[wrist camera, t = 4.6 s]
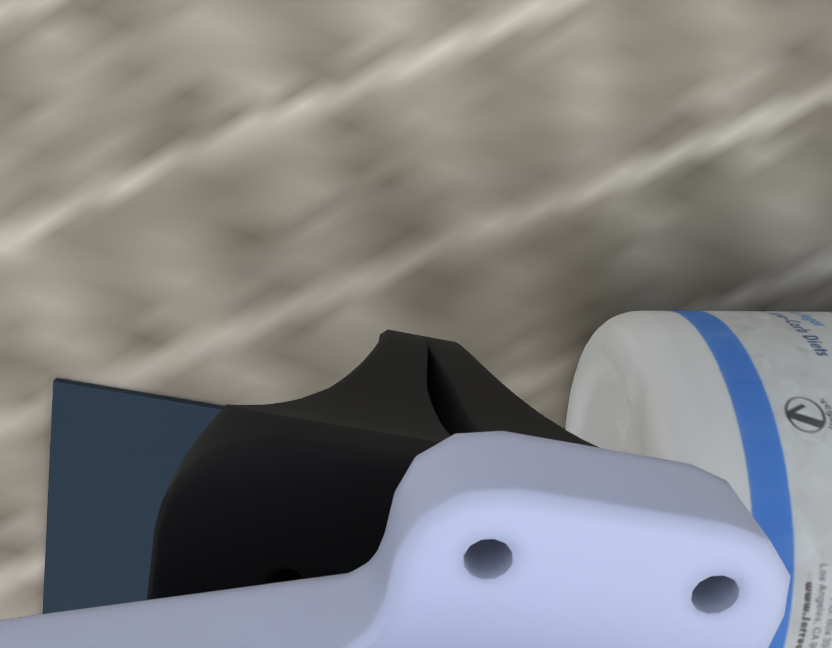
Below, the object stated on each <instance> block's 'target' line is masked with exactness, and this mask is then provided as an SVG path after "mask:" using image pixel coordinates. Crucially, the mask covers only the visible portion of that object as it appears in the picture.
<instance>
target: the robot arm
mask: <svg viewBox="0 0 832 648" xmlns="http://www.w3.org/2000/svg"><path fill="white" fill-rule="evenodd" d="M790 577H791V576H790V574H789V572H788V571H787V569H786V567H785V565H784V564H783V562H782V560H781V558H780V557H779V555H778V553H777V551H776V550H775V548H774V546H773V544H772V543H771V541H770V540H769V538H768V537H767V536H766V534H765V533H764V531H763V530H762V529H761V527H760V526H759V524H758V523H757V522H756V520H755V519H754V517H753V516H752V515H751V513H750V512H749V510H748V509H747V508H746V506H745V505H744V504H743V502H742V501H741V499H740V498H739V497H738V495H737V494H736V492H735V491H734V490H733V488H732V487H731V485H730V484H729V483H728V481H727V480H725V479H722V478H720V477H718V476H716V475H714V474H711V473H709V472H707V471H705V470H703V469H701V468H698V467H696V466H694V465H692V464H690V463H684V462H678V461H672V460H667V459H661V458H655V457H649V456H644V455H638V454H632V453H627V452H621V451H615V450H609V449H604V448H599V447H597V446H595V445H593V444H591V443H589V442H587V441H585V440H583V439H581V438H579V437H578V436H576V435H574V434H572V433H570V432H568V431H567V430H565V429H564V428H562V427H560V426H559V425H557V424H556V423H554V422H552V421H551V420H549V419H548V418H546V417H544V416H543V415H542V414H540V413H539V412H537V411H536V410H534V409H533V408H532V407H530V406H529V405H528V404H527V403H525V402H524V401H523V400H521V399H520V398H519V397H518V396H516V395H515V394H514V393H513V392H511V391H510V390H509V389H508V388H507V387H506V386H504V385H503V384H502V383H501V382H500V381H499V380H498V379H497V378H495V377H494V376H493V375H492V374H491V373H490V372H489V371H488V370H487V369H486V368H485V367H484V366H483V365H482V364H480V363H479V362H478V361H477V360H476V359H475V358H474V357H473V356H472V355H471V354H470V353H469V352H468V351H467V350H465V349H464V348H463V347H462V346H461V345H459V344H458V343H456V342H452V341H447V340H441V339H436V338H430V337H425V336H420V335H414V334H409V333H404V332H398V331H393V330H386V331H385V332H383V333H382V334H380V338H379V342H378V344H377V345H376V346H375V348H374V349H373V351H372V352H371V353H370V354H369V355H368V356H367V357H366V359H365V360H364V361H363V362H362V363H361V364H360V365H359V366H358V367H357V368H355V369H354V370H353V371H352V372H351V373H350V374H348V375H347V376H346V377H345V378H343V379H342V380H341V381H339V382H338V383H336V384H335V385H333V386H332V387H330V388H328V389H326V390H323V391H320V392H318V393H315V394H312V395H309V396H307V397H304V398H301V399H297V400H292V401H288V402H282V403H275V404H267V405H226V406H225V407H223V408H222V409H221V411H220V412H219V413H218V414H217V415H216V416H215V417H214V419H213V420H212V421H211V422H210V423H209V424H208V426H207V427H206V428H205V429H204V430H203V432H202V433H201V434H200V436H199V437H198V438H197V440H196V441H195V442H194V444H193V445H192V446H191V448H190V449H189V451H188V452H187V454H186V455H185V457H184V458H183V460H182V461H181V463H180V465H179V467H178V468H177V470H176V472H175V474H174V476H173V478H172V480H171V482H170V485H169V487H168V489H167V491H166V493H165V495H164V498H163V500H162V502H161V506H160V510H159V513H158V517H157V520H156V524H155V528H154V537H153V546H152V555H151V564H150V573H149V582H148V591H147V600H144V601H137V602H129V603H122V604H114V605H107V606H100V607H92V608H85V609H77V610H70V611H62V612H55V613H48V614H40V615H33V616H25V617H18V618H10V619H3V620H0V648H768V647H769V645H770V643H771V641H772V639H773V637H774V635H775V633H776V631H777V629H778V627H779V625H780V623H781V621H782V619H783V617H784V614H785V608H786V601H787V595H788V589H789V583H790Z"/></svg>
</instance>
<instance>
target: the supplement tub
mask: <svg viewBox="0 0 832 648" xmlns="http://www.w3.org/2000/svg"><path fill="white" fill-rule="evenodd" d="M565 430H567V431H568V432H570V433H572V434H574V435H576V436H578V437H579V438H581V439H583V440H585V441H587V442H589V443H591V444H593V445H595V446H597V447H599V448H604V449H609V450H615V451H621V452H627V453H632V454H638V455H644V456H649V457H655V458H661V459H667V460H672V461H678V462H684V463H690V464H692V465H694V466H696V467H698V468H701V469H703V470H705V471H707V472H709V473H711V474H714V475H716V476H718V477H720V478H722V479H725V480H727V481H728V483H729V484H730V485H731V487H732V488H733V490H734V491H735V492H736V494H737V495H738V497H739V498H740V499H741V501H742V502H743V504H744V505H745V506H746V508H747V509H748V510H749V512H750V513H751V515H752V516H753V517H754V519H755V520H756V522H757V523H758V524H759V526H760V527H761V529H762V530H763V531H764V533H765V534H766V536H767V537H768V538H769V540H770V541H771V543H772V544H773V546H774V548H775V550H776V551H777V553H778V555H779V557H780V558H781V560H782V562H783V564H784V565H785V567H786V569H787V571H788V572H789V574H790V576H791V577H790V583H789V589H788V595H787V601H786V608H785V614H784V617H783V619H782V621H781V623H780V625H779V627H778V629H777V631H776V633H775V635H774V637H773V639H772V641H771V643H770V645H769V647H768V648H832V312H792V311H630V312H626V313H622V314H619V315H617V316H615V317H612V318H611V319H609V320H608V321H606V322H605V323H604V324H602V325H601V326H600V327H599V328H598V329H597V330H596V332H595V333H594V334H593V335H592V337H591V338H590V340H589V341H588V343H587V344H586V346H585V348H584V350H583V352H582V355H581V357H580V360H579V363H578V366H577V369H576V372H575V376H574V380H573V383H572V387H571V391H570V397H569V404H568V410H567V417H566V427H565Z"/></svg>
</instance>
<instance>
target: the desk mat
mask: <svg viewBox="0 0 832 648" xmlns="http://www.w3.org/2000/svg"><path fill="white" fill-rule="evenodd" d="M222 408H223V407H222V406H217V405H211V404H205V403H199V402H193V401H187V400H181V399H175V398H169V397H163V396H157V395H151V394H145V393H139V392H133V391H127V390H121V389H116V388H110V387H104V386H98V385H92V384H86V383H80V382H74V381H68V380H62V379H55V380H54V381H53V401H52V422H51V444H50V466H49V488H48V510H47V532H46V554H45V575H44V597H43V614H48V613H55V612H62V611H70V610H77V609H85V608H92V607H100V606H107V605H114V604H122V603H129V602H137V601H144V600H147V591H148V582H149V573H150V564H151V555H152V546H153V537H154V528H155V524H156V520H157V517H158V513H159V510H160V506H161V502H162V500H163V498H164V495H165V493H166V491H167V489H168V487H169V485H170V482H171V480H172V478H173V476H174V474H175V472H176V470H177V468H178V467H179V465H180V463H181V461H182V460H183V458H184V457H185V455H186V454H187V452H188V451H189V449H190V448H191V446H192V445H193V444H194V442H195V441H196V440H197V438H198V437H199V436H200V434H201V433H202V432H203V430H204V429H205V428H206V427H207V426H208V424H209V423H210V422H211V421H212V420H213V419H214V417H215V416H216V415H217V414H218V413H219V412H220V411H221V409H222Z"/></svg>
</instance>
